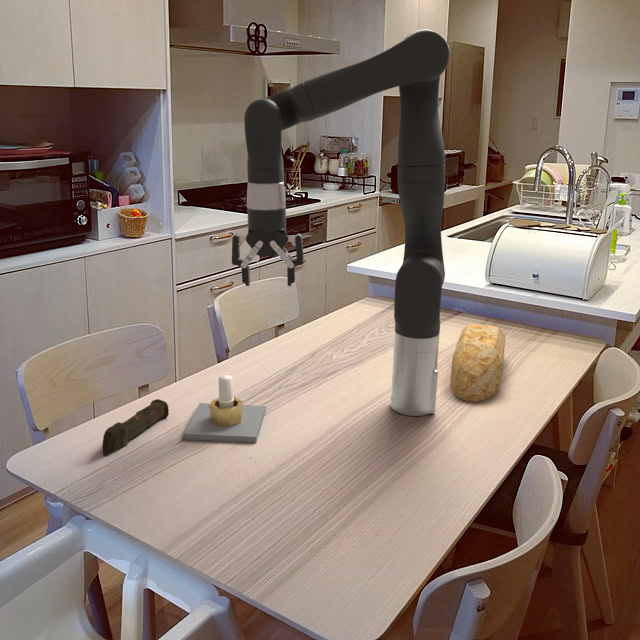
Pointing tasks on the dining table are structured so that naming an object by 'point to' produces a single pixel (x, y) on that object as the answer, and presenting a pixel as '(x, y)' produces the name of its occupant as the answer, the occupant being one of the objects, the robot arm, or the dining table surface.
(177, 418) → the dining table surface
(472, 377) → the bread
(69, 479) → the dining table surface
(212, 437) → the post base
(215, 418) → the ring
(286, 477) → the dining table surface
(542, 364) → the dining table surface
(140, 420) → the hand tool
